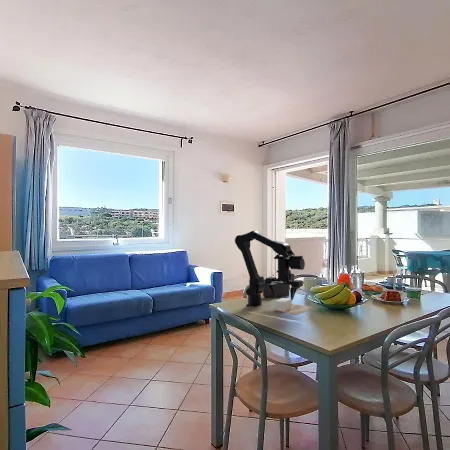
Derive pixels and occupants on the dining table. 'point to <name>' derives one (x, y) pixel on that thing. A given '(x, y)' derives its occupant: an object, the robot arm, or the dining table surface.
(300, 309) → the mounting board
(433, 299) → the dining table surface
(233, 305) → the dining table surface
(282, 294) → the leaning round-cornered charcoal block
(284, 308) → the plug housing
